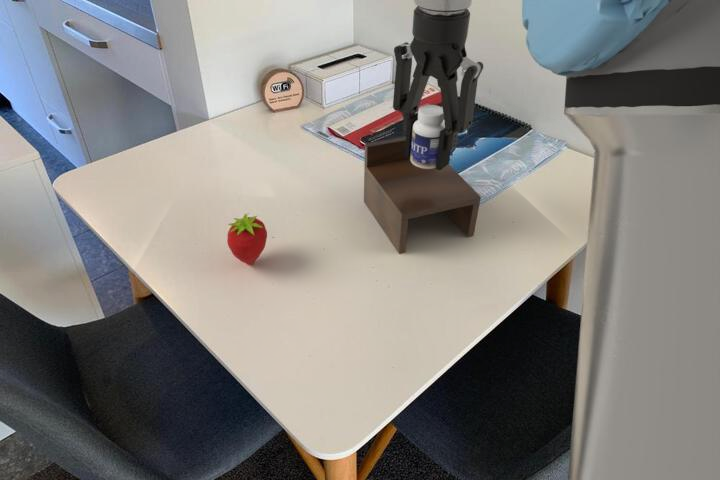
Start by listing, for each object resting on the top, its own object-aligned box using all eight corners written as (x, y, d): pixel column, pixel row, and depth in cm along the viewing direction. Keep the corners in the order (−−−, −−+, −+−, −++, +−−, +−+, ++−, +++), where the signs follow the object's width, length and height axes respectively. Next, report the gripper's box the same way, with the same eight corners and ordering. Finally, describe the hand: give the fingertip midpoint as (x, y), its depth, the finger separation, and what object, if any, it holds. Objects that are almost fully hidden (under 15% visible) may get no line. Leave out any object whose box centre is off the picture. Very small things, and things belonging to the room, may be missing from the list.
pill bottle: (403, 158, 85) (406, 107, 79) (428, 150, 87) (433, 99, 81) (424, 173, 81) (429, 120, 76) (449, 164, 84) (456, 112, 78)
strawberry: (274, 248, 86) (268, 198, 80) (265, 280, 80) (258, 228, 74) (238, 247, 86) (229, 197, 80) (227, 278, 80) (216, 227, 74)
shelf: (473, 235, 89) (485, 175, 82) (399, 254, 85) (403, 192, 78) (431, 187, 101) (437, 130, 93) (363, 201, 97) (364, 143, 89)
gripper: (518, 14, 67) (488, 170, 82) (402, -10, 76) (394, 134, 91) (490, 28, 63) (464, 190, 77) (370, 0, 72) (367, 150, 86)
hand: (426, 159), depth 84 cm, fingers closed on pill bottle, 5 cm apart
